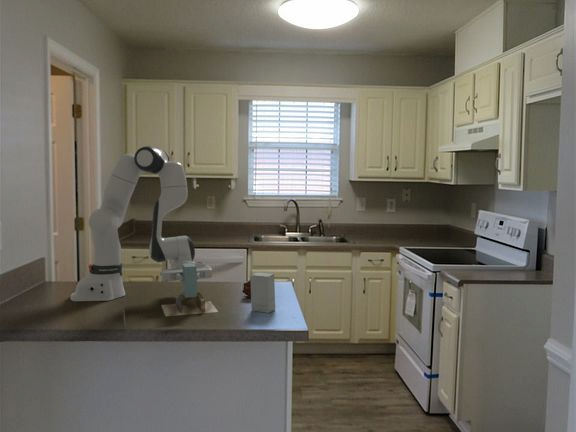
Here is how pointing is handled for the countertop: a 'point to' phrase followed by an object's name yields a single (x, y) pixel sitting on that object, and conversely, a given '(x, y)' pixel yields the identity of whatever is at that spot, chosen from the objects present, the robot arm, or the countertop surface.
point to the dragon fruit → (247, 288)
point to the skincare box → (262, 292)
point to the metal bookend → (178, 303)
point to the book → (189, 280)
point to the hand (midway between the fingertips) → (189, 277)
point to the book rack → (189, 306)
